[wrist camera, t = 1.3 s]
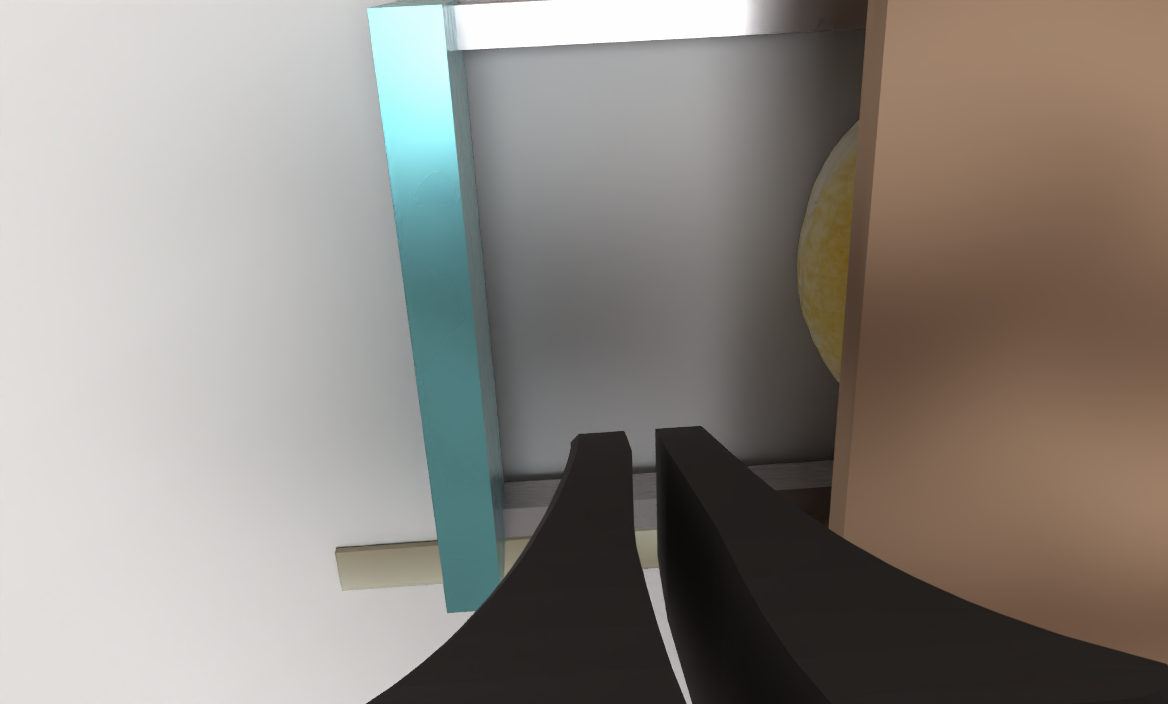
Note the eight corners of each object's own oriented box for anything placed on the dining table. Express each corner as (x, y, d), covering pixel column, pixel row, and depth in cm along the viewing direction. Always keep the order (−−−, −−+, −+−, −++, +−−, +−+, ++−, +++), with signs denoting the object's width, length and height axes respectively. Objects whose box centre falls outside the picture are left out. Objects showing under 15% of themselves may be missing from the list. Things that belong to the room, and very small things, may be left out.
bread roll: (952, -22, 19) (1054, -21, 15) (1213, 218, 21) (1356, 269, 18) (706, 283, 21) (743, 349, 18) (966, 468, 24) (1047, 559, 20)
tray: (1519, 500, 25) (1821, 662, 19) (343, 586, 24) (283, 784, 18) (1815, -182, 18) (2412, -252, 12) (213, -109, 17) (54, -147, 11)
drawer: (1181, 466, 23) (1292, 550, 20) (459, 516, 23) (447, 613, 19) (1311, -46, 18) (1487, -49, 15) (398, 1, 18) (367, 8, 14)
